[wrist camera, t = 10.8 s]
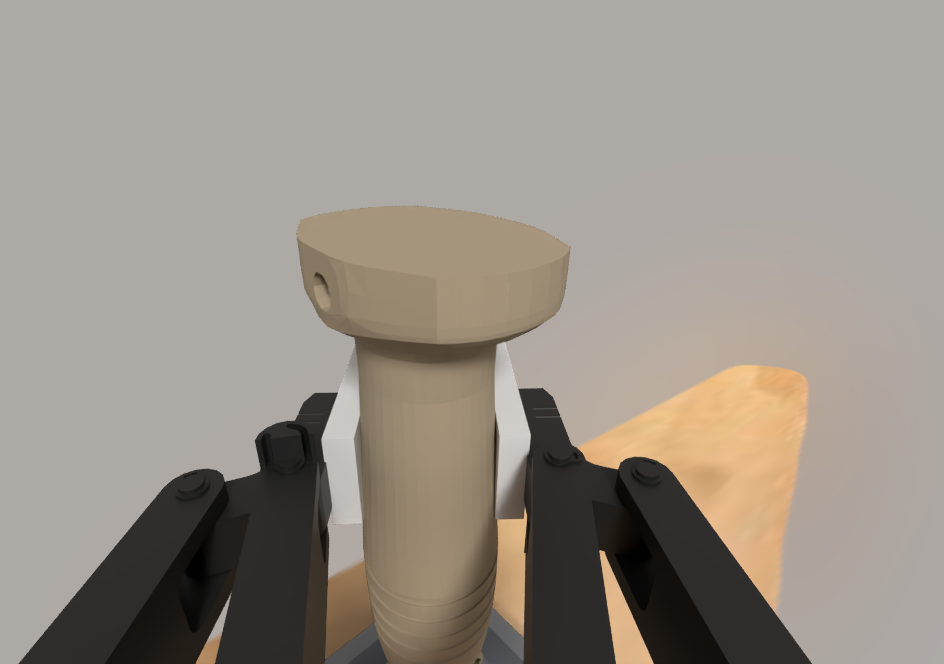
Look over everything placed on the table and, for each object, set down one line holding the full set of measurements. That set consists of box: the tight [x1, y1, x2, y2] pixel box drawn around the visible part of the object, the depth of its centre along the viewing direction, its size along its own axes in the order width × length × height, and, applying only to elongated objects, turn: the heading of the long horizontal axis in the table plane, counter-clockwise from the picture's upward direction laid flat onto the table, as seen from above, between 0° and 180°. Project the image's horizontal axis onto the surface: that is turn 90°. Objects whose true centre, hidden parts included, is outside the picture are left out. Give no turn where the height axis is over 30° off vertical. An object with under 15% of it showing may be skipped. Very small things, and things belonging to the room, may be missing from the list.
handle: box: [297, 206, 570, 664], centre depth 13 cm, size 5×6×15 cm
